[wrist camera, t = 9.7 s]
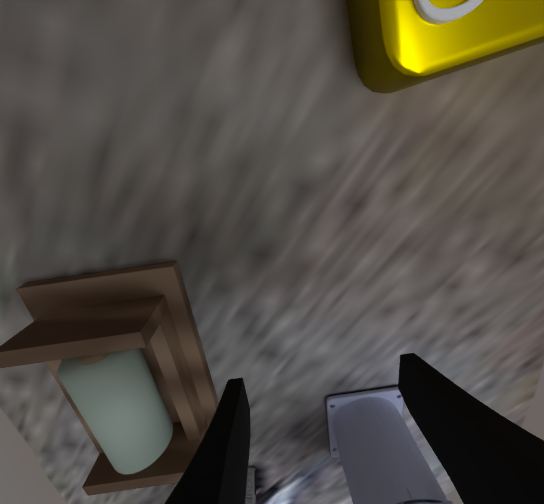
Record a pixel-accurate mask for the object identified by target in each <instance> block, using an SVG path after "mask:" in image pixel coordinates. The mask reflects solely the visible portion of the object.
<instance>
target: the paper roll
mask: <svg viewBox="0 0 544 504" xmlns="http://www.w3.org/2000/svg"><path fill="white" fill-rule="evenodd" d="M57 375H58V377H59V379H60V381H61V382H62V384H63V386H64V387H65V389H66V390H67V392H68V394H69V395H70V397H71V399H72V400H73V402H74V404H75V405H76V407H77V408H78V410H79V412H80V413H81V415H82V417H83V418H84V420H85V422H86V423H87V425H88V426H89V428H90V430H91V431H92V433H93V435H94V436H95V438H96V440H97V441H98V443H99V444H100V446H101V448H102V449H103V451H104V453H105V454H106V456H107V458H108V459H109V461H110V463H111V464H112V466H113V467H114V469H115V470H116V471H117V472H118V473H121V474H133V473H136V472H139V471H141V470H143V469H145V468H147V467H148V466H150V465H151V464H152V463H153V462H155V461H156V460H157V459H158V458H159V457H160V456H161V454H162V453H163V452H164V450H165V449H166V448H167V446H168V444H169V442H170V440H171V437H172V434H173V422H172V420H171V417H170V415H169V413H168V410H167V408H166V406H165V403H164V401H163V399H162V396H161V394H160V392H159V389H158V387H157V385H156V382H155V380H154V378H153V375H152V373H151V371H150V368H149V366H148V364H147V361H146V359H145V357H144V354H143V352H142V350H141V348H137V349H130V350H123V351H116V352H109V353H102V354H95V355H88V356H81V357H74V358H67V359H64V360H63V361H62V362H61V363H60V365H59V367H58V369H57Z"/></svg>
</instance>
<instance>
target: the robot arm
mask: <svg viewBox="0 0 544 504" xmlns="http://www.w3.org/2000/svg"><path fill="white" fill-rule="evenodd" d="M403 400H404V402H405V404H406V406H407V408H408V410H409V412H410V414H411V415H412V417H413V419H414V420H415V422H416V424H417V425H418V427H419V428H420V430H421V432H422V433H423V435H424V437H425V438H426V440H427V441H428V443H429V445H430V446H431V448H432V449H433V451H434V453H435V454H436V456H437V457H438V459H439V461H440V462H441V464H442V466H443V467H444V469H445V470H446V472H447V474H448V476H449V477H450V479H451V481H452V482H453V484H454V486H455V488H456V490H457V492H458V494H459V496H460V498H461V499H462V501H463V503H464V504H544V441H543V440H542V439H540V438H538V437H536V436H534V435H533V434H531V433H529V432H528V431H526V430H524V429H523V428H521V427H519V426H518V425H516V424H514V423H513V422H511V421H509V420H508V419H506V418H505V417H503V416H501V415H500V414H498V413H497V412H495V411H494V410H492V409H491V408H489V407H488V406H486V405H485V404H483V403H482V402H480V401H479V400H477V399H476V398H474V397H473V396H471V395H470V394H468V393H467V392H466V391H464V390H463V389H461V388H460V387H459V386H457V385H456V384H454V383H453V382H452V381H450V380H449V379H448V378H446V377H445V376H444V375H442V374H441V373H440V372H438V371H437V370H436V369H434V368H433V367H432V366H430V365H429V364H428V363H426V362H425V361H424V360H422V359H421V358H420V357H419V356H417V355H416V354H414V353H410V354H403V355H400V367H399V382H398V387H391V388H384V389H378V390H371V391H364V392H357V393H350V394H343V395H336V396H330V397H328V398H327V399H326V404H327V417H328V431H329V444H330V454H331V457H333V458H337V457H340V458H341V462H342V465H343V469H344V473H345V476H346V480H347V483H348V487H349V491H350V494H351V498H352V502H353V504H453V503H452V502H451V501H448V500H447V498H446V496H445V494H444V493H443V491H442V489H441V487H440V485H439V483H438V482H437V480H436V478H435V476H434V474H433V473H432V471H431V469H430V467H429V465H428V464H427V462H426V460H425V458H424V456H423V455H422V453H421V451H420V449H419V447H418V446H417V444H416V442H415V440H414V438H413V436H412V435H411V433H410V431H409V429H408V427H407V426H406V424H405V422H404V420H403V418H402V409H403ZM249 447H250V407H249V403H248V399H247V394H246V390H245V386H244V382H243V378H237V379H230V380H228V382H227V384H226V387H225V390H224V392H223V395H222V397H221V400H220V402H219V405H218V407H217V409H216V412H215V414H214V416H213V418H212V420H211V422H210V425H209V427H208V429H207V431H206V433H205V435H204V437H203V439H202V441H201V443H200V445H199V447H198V448H197V450H196V452H195V454H194V456H193V458H192V460H191V461H190V463H189V465H188V467H187V468H186V470H185V472H184V474H183V475H182V477H181V479H180V480H179V482H178V483H177V485H176V487H175V488H174V490H173V491H172V493H171V494H170V496H169V498H168V499H167V501H166V502H165V504H245V498H246V486H247V473H248V460H249Z"/></svg>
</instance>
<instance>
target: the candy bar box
mask: <svg viewBox="0 0 544 504" xmlns="http://www.w3.org/2000/svg"><path fill="white" fill-rule="evenodd" d="M245 504H256V468H255V467H251V466H248V473H247V486H246V498H245Z"/></svg>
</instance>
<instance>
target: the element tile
mask: <svg viewBox="0 0 544 504" xmlns="http://www.w3.org/2000/svg"><path fill="white" fill-rule="evenodd" d="M346 4H347V11H348V18H349V24H350V31H351V38H352V44H353V51H354V57H355V64H356V68H357V71H358V75H359V77H360V78H361V80H362V82H363V83H364V85H365V86H366V87H367V88H369V89H370V90H371V91H373V92H378V93H392V92H395V91H398V90H401V89H404V88H407V87H410V86H413V85H416V84H419V83H422V82H425V81H428V80H431V79H434V78H437V77H440V76H443V75H446V74H449V73H452V72H455V71H458V70H461V69H464V68H467V67H470V66H473V65H476V64H479V63H482V62H485V61H488V60H491V59H494V58H497V57H500V56H503V55H506V54H509V53H512V52H515V51H518V50H521V49H524V48H527V47H530V46H533V45H536V44H539V43H542V42H544V0H346Z"/></svg>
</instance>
